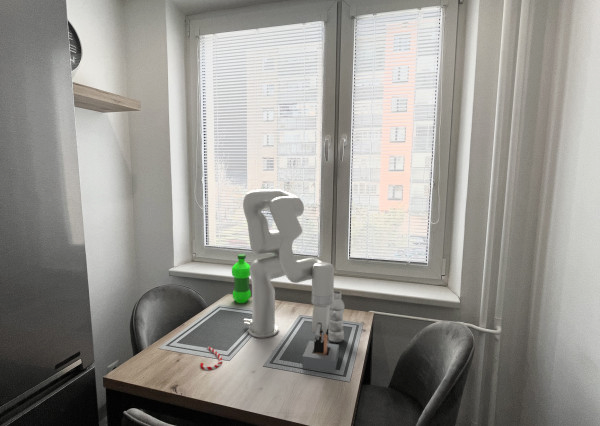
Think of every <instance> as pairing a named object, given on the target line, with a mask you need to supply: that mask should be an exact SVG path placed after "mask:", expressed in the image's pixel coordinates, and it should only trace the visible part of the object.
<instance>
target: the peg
mask: <svg viewBox="0 0 600 426" xmlns="http://www.w3.org/2000/svg"><path fill="white" fill-rule="evenodd" d="M320 337H322V335H320ZM327 337H328V335H327V334H324V337H323V341H324V352H323V353H316V354H321V355H327V343H328V340H327Z"/></svg>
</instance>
